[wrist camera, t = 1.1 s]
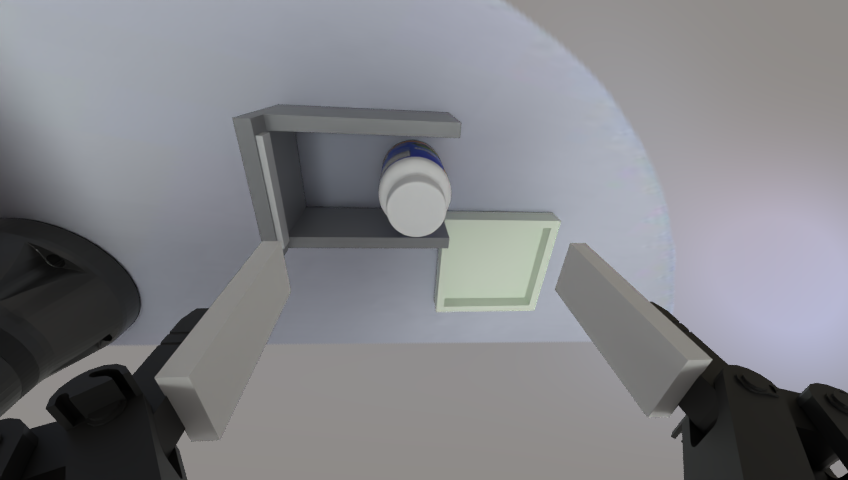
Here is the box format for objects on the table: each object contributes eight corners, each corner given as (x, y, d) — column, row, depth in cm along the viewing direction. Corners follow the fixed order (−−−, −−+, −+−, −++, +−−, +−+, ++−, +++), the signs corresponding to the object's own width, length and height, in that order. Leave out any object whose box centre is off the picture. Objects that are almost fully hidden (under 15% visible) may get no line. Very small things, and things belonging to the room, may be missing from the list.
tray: (434, 300, 36) (436, 312, 34) (441, 211, 30) (444, 219, 29) (527, 299, 37) (534, 310, 35) (552, 212, 32) (561, 221, 30)
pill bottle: (451, 172, 29) (475, 214, 20) (408, 206, 30) (413, 260, 21) (415, 125, 26) (424, 151, 18) (369, 165, 28) (358, 207, 19)
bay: (297, 216, 29) (266, 261, 22) (278, 104, 25) (232, 117, 18) (439, 218, 31) (452, 261, 24) (448, 112, 26) (467, 127, 19)
